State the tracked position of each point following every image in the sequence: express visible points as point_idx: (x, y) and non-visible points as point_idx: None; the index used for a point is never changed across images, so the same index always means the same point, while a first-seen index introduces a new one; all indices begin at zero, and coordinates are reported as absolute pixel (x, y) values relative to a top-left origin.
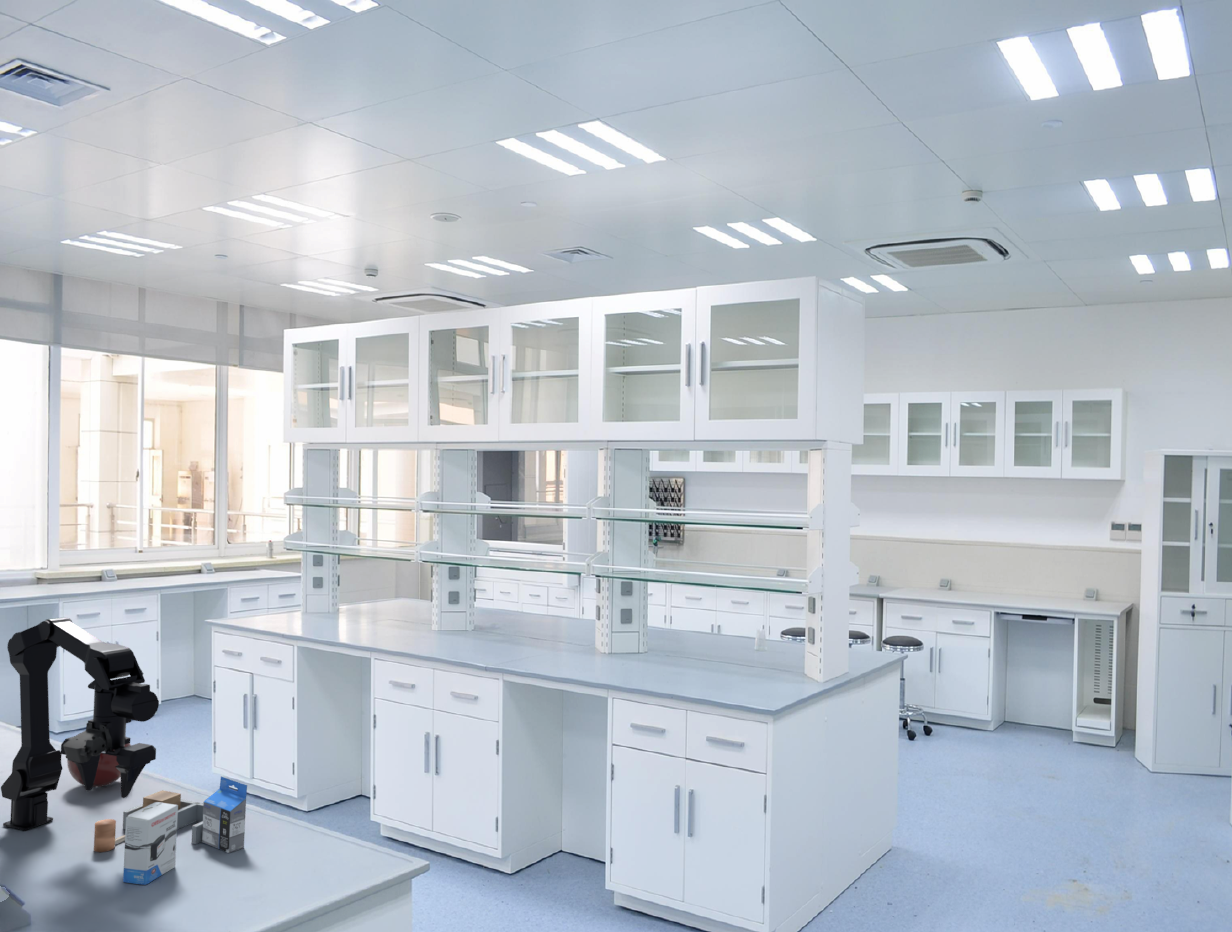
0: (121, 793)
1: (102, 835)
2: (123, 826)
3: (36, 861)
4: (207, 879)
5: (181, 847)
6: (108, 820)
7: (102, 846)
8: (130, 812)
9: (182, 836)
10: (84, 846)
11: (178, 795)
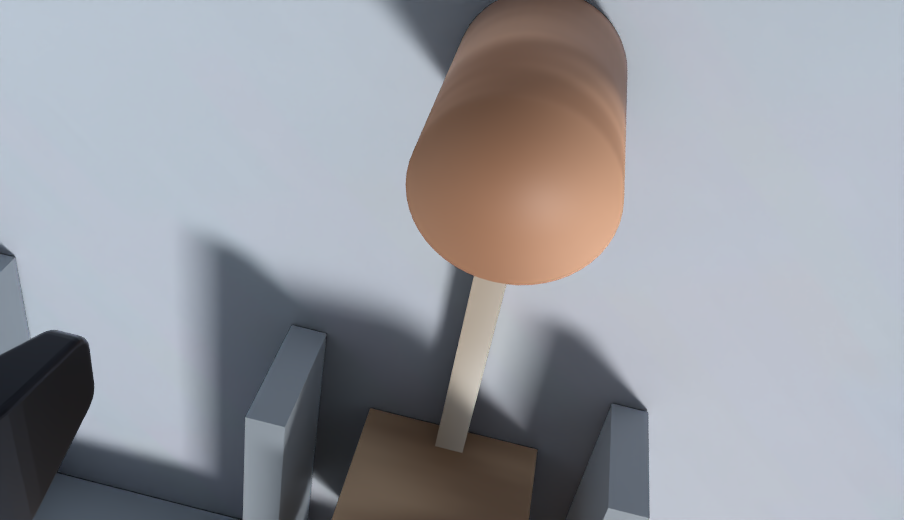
0: (19, 371)
1: (485, 58)
2: (641, 423)
3: None
4: None
5: (13, 190)
6: (520, 250)
7: (497, 16)
8: (598, 517)
9: (165, 344)
10: (748, 78)
11: None
